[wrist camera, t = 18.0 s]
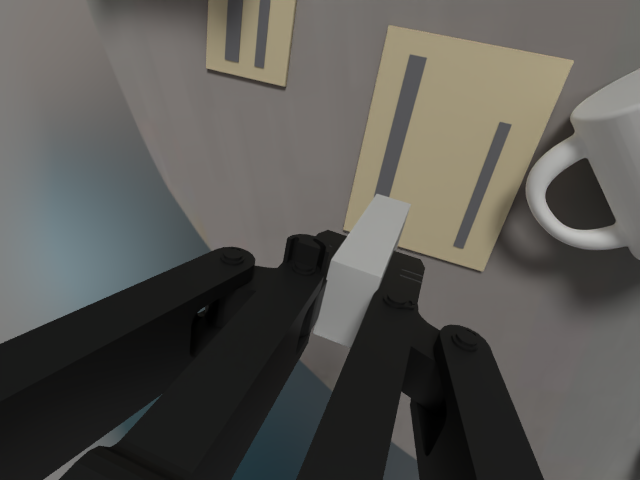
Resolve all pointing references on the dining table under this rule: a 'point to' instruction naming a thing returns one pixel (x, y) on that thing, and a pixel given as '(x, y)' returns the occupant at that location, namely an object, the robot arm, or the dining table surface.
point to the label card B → (453, 138)
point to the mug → (598, 166)
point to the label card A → (251, 38)
